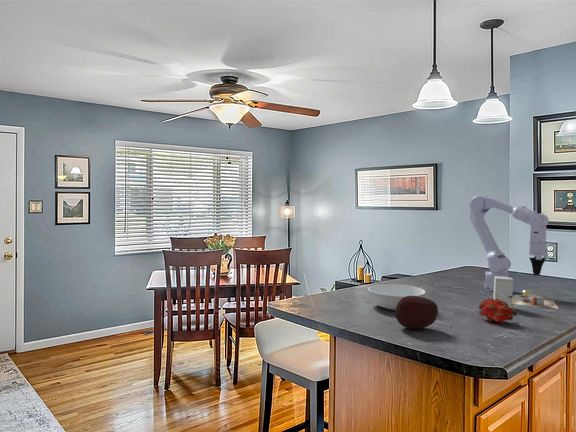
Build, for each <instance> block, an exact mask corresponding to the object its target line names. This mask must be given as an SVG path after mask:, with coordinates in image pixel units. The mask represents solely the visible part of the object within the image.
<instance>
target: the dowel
mask: <svg viewBox="0 0 576 432" xmlns="http://www.w3.org/2000/svg"><path fill="white" fill-rule="evenodd" d="M531 305H535V297H531Z"/></svg>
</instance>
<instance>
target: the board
mask: <svg viewBox="0 0 576 432" xmlns="http://www.w3.org/2000/svg"><path fill="white" fill-rule="evenodd" d="M512 305H517V306H518V305H519V306H527V307H528V306H529V307H539V308H548V309H556V310H557V309H559V307H558V305H557V304H556V302H555V300H554V299H545V298H544V306H537V305H531V303H530V302H522V301H520V300H517V299H515V298H513V296H512Z"/></svg>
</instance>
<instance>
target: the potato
mask: <svg viewBox="0 0 576 432" xmlns="http://www.w3.org/2000/svg"><path fill="white" fill-rule="evenodd" d="M394 311H395V312H394V313H395V314H394V315H395V319H396V320H397V322H398V323H399V325H401V327H403V328H406V329H409V330H419V329H424V328H427V327H429V326H431V325H432V324H434V323H435V322H436V320H437V318H438V316H439V315H438V313H439V309H438V305H437V303H436V302H435V301H434V300H432V299H430V298H427V297H425V298H423V297H418V296H406V297H403V298H402V299H401V300H400V301H399V302H398V304H397V306H396V310H394Z"/></svg>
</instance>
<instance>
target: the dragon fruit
mask: <svg viewBox="0 0 576 432" xmlns="http://www.w3.org/2000/svg"><path fill="white" fill-rule="evenodd" d="M478 309H479V313H478V314H479V315H480V316H483V317H486V319H487V321H489V322H492V321H493V322H496V323H499V324H501V325H506V324H508V322H505V321H513V319H514V318H513V317H514V316H516V317H517V316H518V314H517V311H516V309H514V308H513V307H512V308H510V307H508V305H507V303H505V302H502V300H499V299H495V300H494V299H493V297H492V298H491V297H488V298H487V299H483V300H482V301H481V302H480V304H479V305H478Z"/></svg>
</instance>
